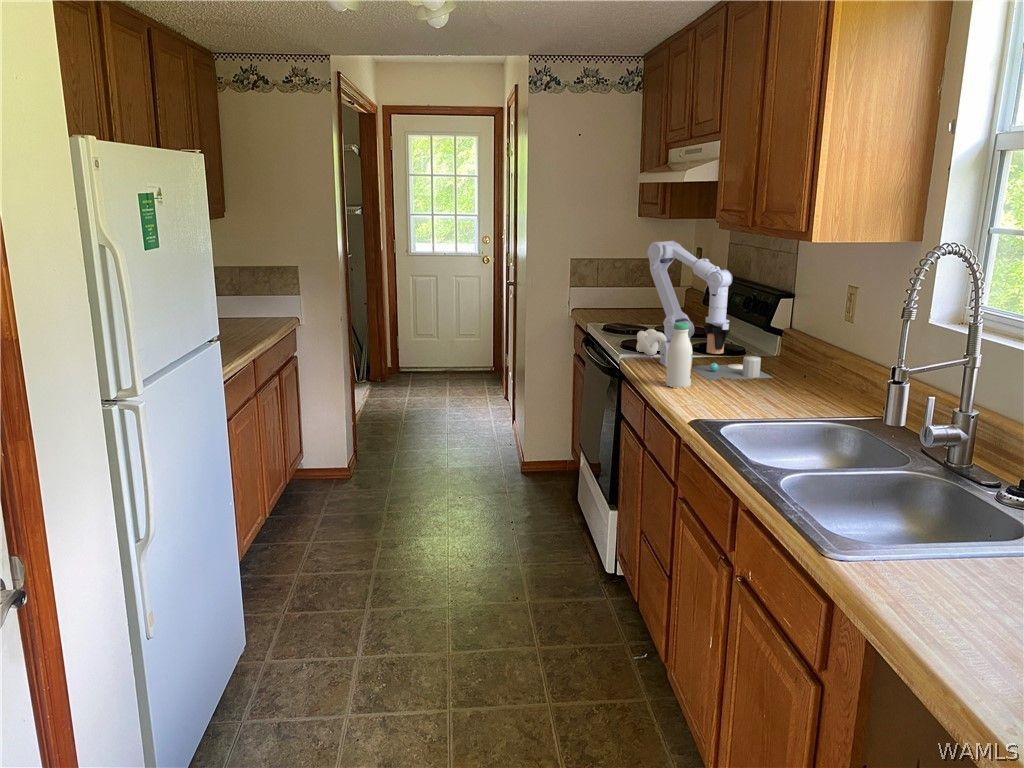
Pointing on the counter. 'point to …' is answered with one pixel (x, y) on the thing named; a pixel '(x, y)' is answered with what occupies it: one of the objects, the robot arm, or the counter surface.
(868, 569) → the counter surface
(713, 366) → the teal marble
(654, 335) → the white puffy twist
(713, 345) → the peach domed cylinder
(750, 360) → the white domed cylinder
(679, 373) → the milk bottle
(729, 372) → the slate mat
